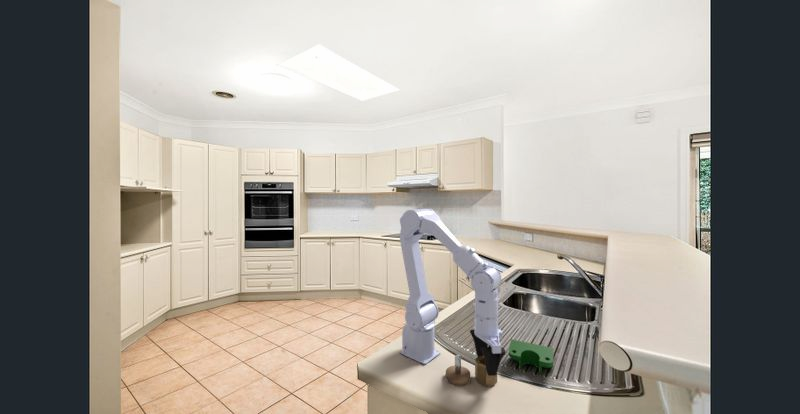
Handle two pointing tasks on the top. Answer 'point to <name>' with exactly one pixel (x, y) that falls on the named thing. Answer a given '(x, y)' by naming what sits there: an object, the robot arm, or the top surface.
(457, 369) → the steel post
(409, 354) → the robot arm
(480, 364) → the bronze collar
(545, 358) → the clamp
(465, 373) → the walnut stand
